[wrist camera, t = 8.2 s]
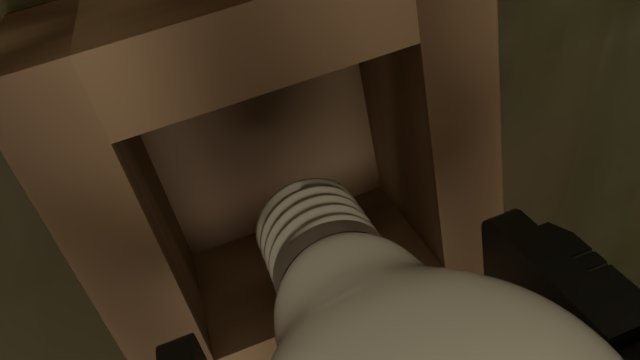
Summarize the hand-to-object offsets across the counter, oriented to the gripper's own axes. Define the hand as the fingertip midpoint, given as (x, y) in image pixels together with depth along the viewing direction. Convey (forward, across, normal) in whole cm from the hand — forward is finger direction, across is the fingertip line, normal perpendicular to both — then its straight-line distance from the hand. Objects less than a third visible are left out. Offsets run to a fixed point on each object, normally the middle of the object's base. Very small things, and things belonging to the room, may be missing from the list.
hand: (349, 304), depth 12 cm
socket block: (+9, 0, 0) cm, 9 cm away
